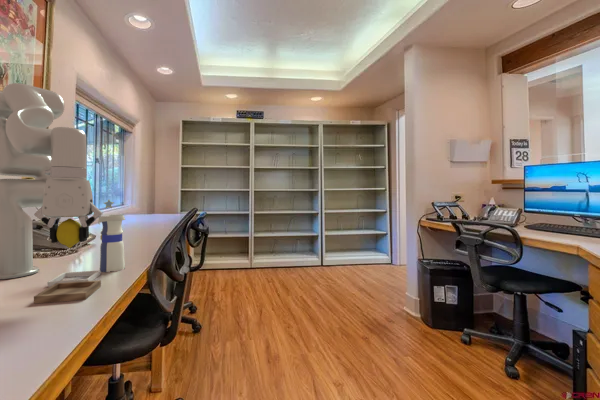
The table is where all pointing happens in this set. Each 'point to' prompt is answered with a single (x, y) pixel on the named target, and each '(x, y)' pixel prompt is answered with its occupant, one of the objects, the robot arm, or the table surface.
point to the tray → (67, 291)
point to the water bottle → (111, 242)
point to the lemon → (68, 232)
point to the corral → (72, 274)
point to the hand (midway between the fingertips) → (69, 240)
